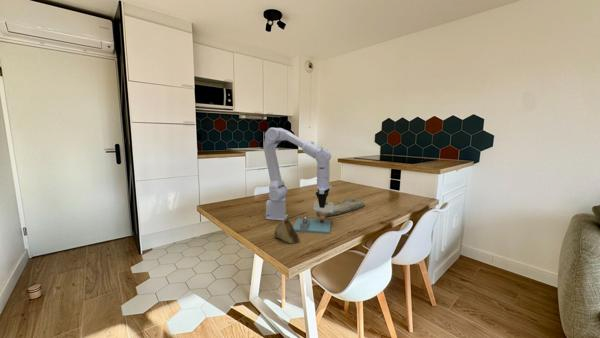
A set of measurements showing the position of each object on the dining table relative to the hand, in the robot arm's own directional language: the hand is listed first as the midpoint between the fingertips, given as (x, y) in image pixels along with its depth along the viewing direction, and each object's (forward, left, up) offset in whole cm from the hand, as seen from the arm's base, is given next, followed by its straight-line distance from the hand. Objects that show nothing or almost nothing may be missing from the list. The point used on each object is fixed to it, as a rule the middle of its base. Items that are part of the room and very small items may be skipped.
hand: (322, 205), depth 117 cm
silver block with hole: (0, 0, -2) cm, 2 cm away
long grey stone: (+9, +22, -9) cm, 26 cm away
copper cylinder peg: (0, 0, -9) cm, 9 cm away
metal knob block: (-7, -7, -9) cm, 13 cm away
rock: (-13, -20, -9) cm, 25 cm away
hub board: (-4, -4, -9) cm, 10 cm away
